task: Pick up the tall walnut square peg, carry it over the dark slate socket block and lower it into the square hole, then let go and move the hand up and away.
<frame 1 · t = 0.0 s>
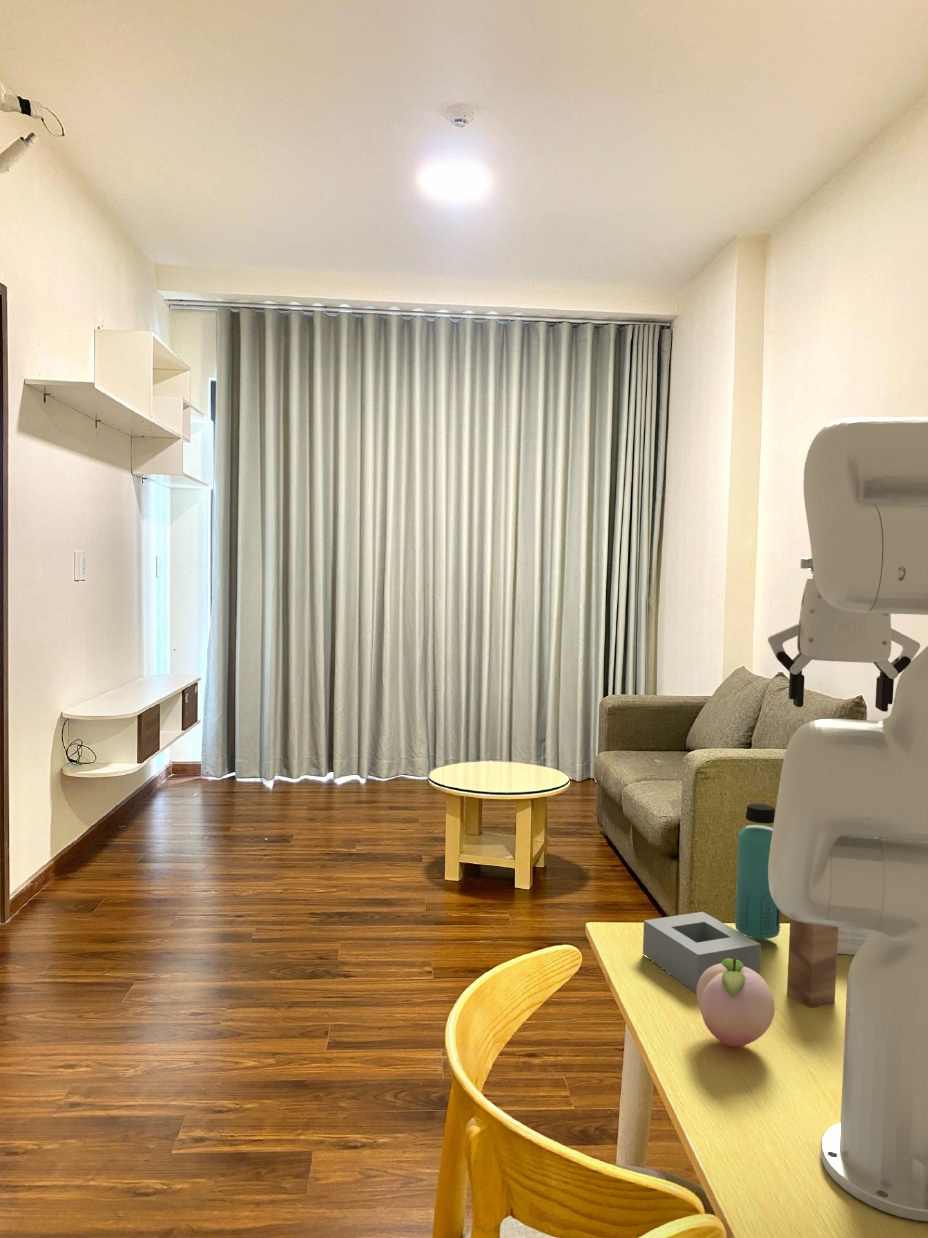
hand: (839, 707, 111), 37 cm above the table, tool pointing down, fingers open, 9 cm apart
walnut peg: (810, 998, 114), on the table
socket block: (699, 968, 122), on the table
small box: (839, 948, 130), on the table
beverage bottle: (756, 941, 132), on the table
decorative fruit: (733, 1047, 102), on the table
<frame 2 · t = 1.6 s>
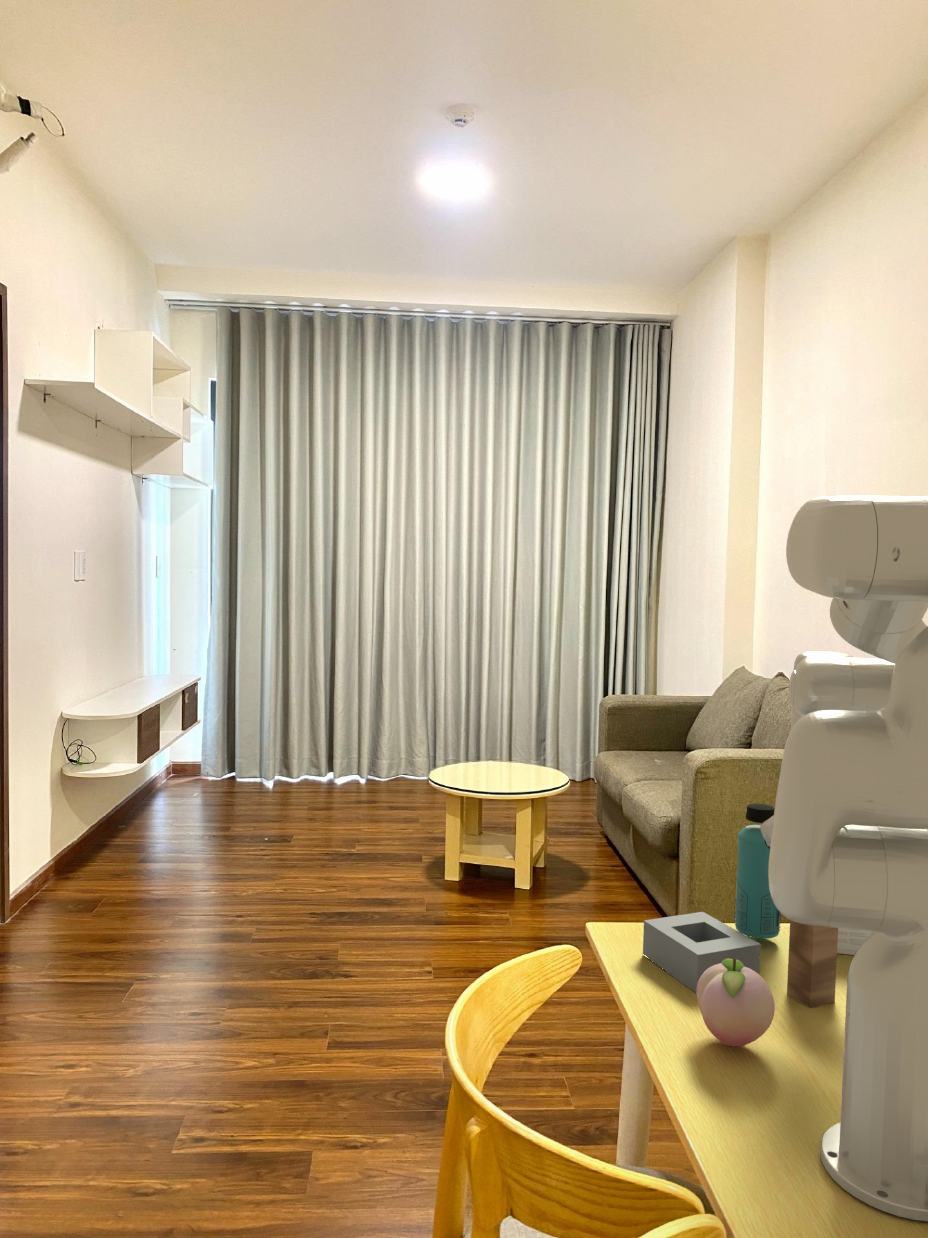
hand: (814, 884, 114), 14 cm above the table, tool pointing down, fingers open, 9 cm apart
nothing on the table moved.
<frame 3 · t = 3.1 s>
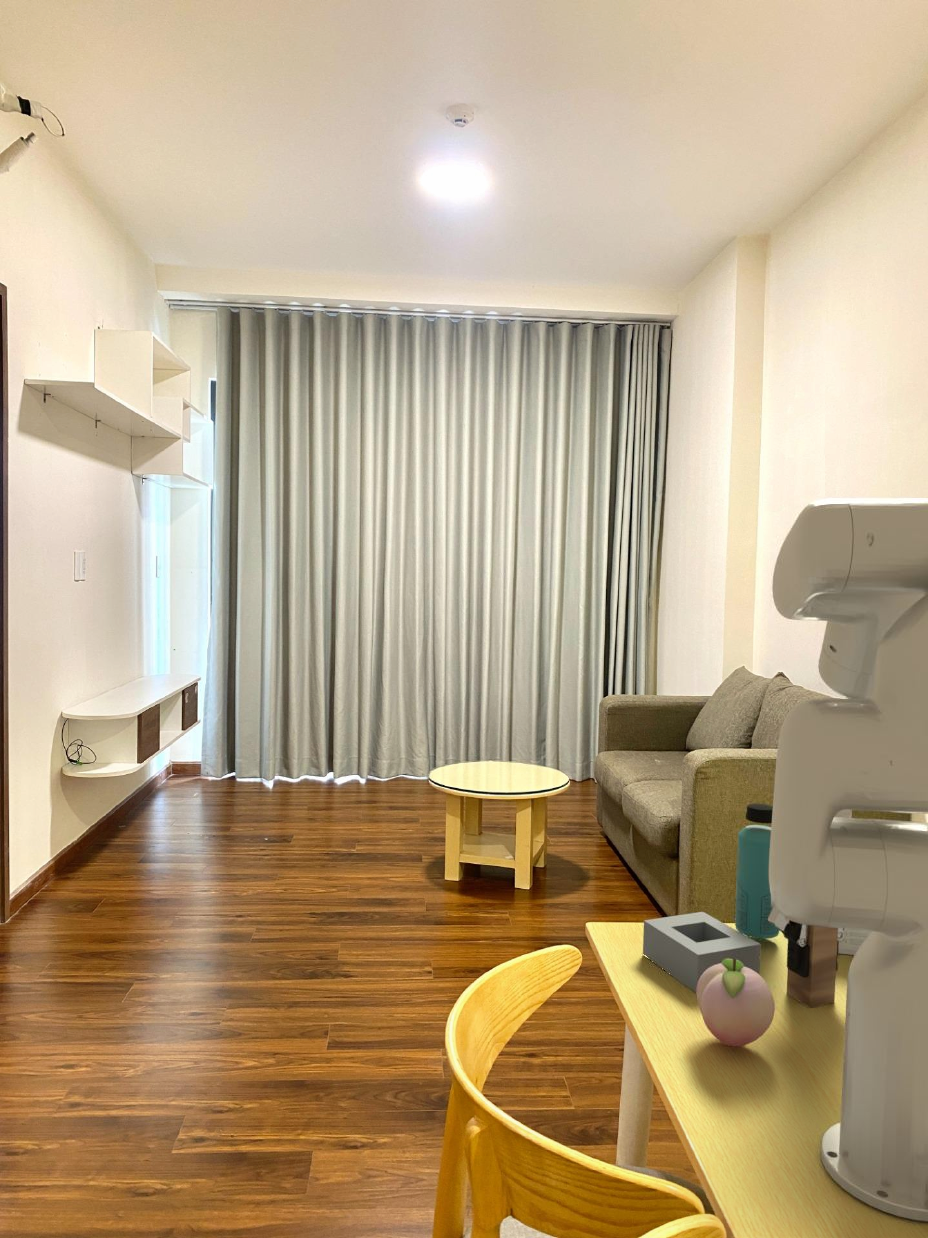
hand: (811, 968, 114), 4 cm above the table, tool pointing down, fingers closed on walnut peg, 3 cm apart
walnut peg: (810, 998, 114), on the table, touching gripper
everything else where it was.
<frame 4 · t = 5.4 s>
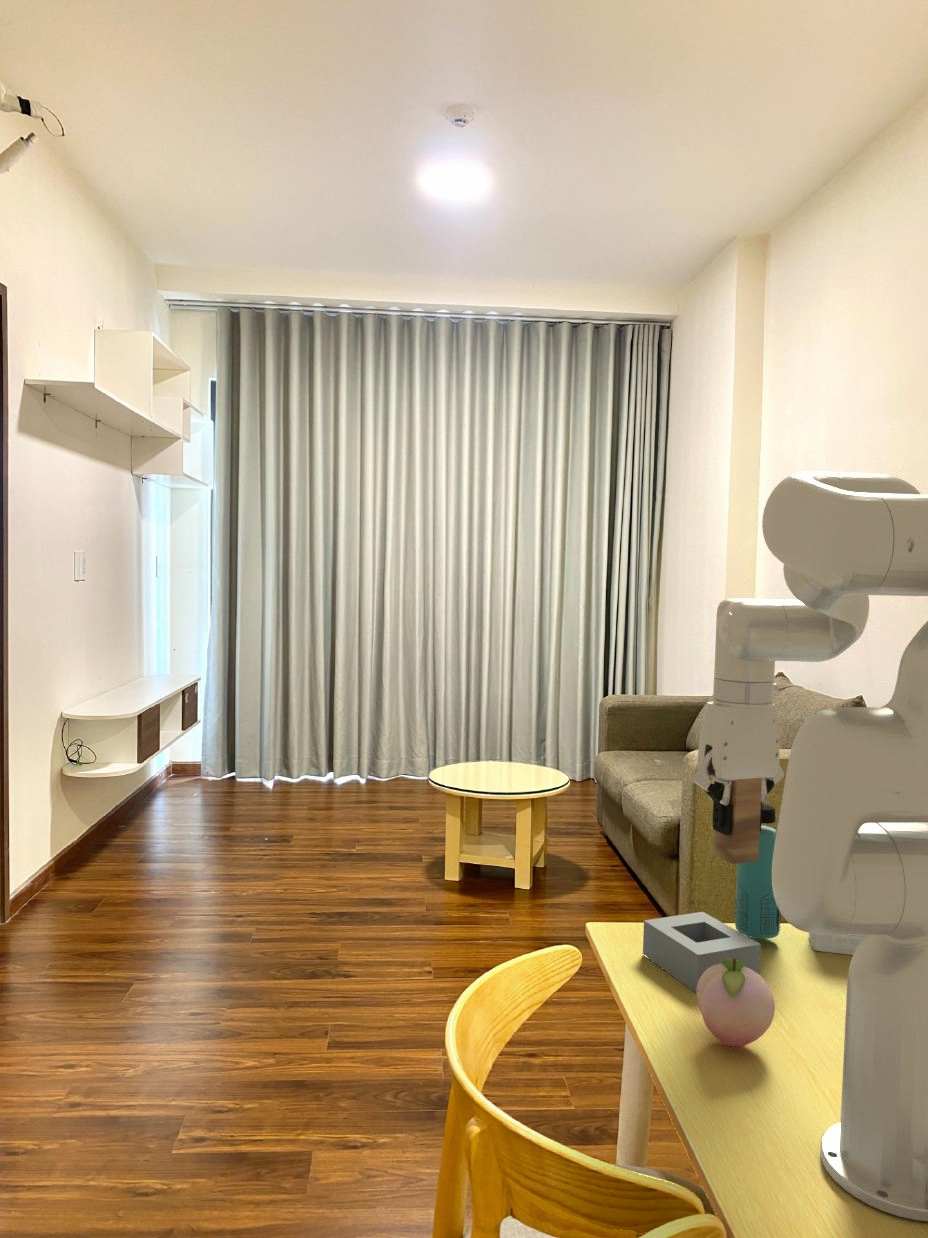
hand: (736, 829, 119), 20 cm above the table, tool pointing down, fingers closed on walnut peg, 4 cm apart
walnut peg: (735, 857, 119), point 16 cm above the table, touching gripper
everything else where it was.
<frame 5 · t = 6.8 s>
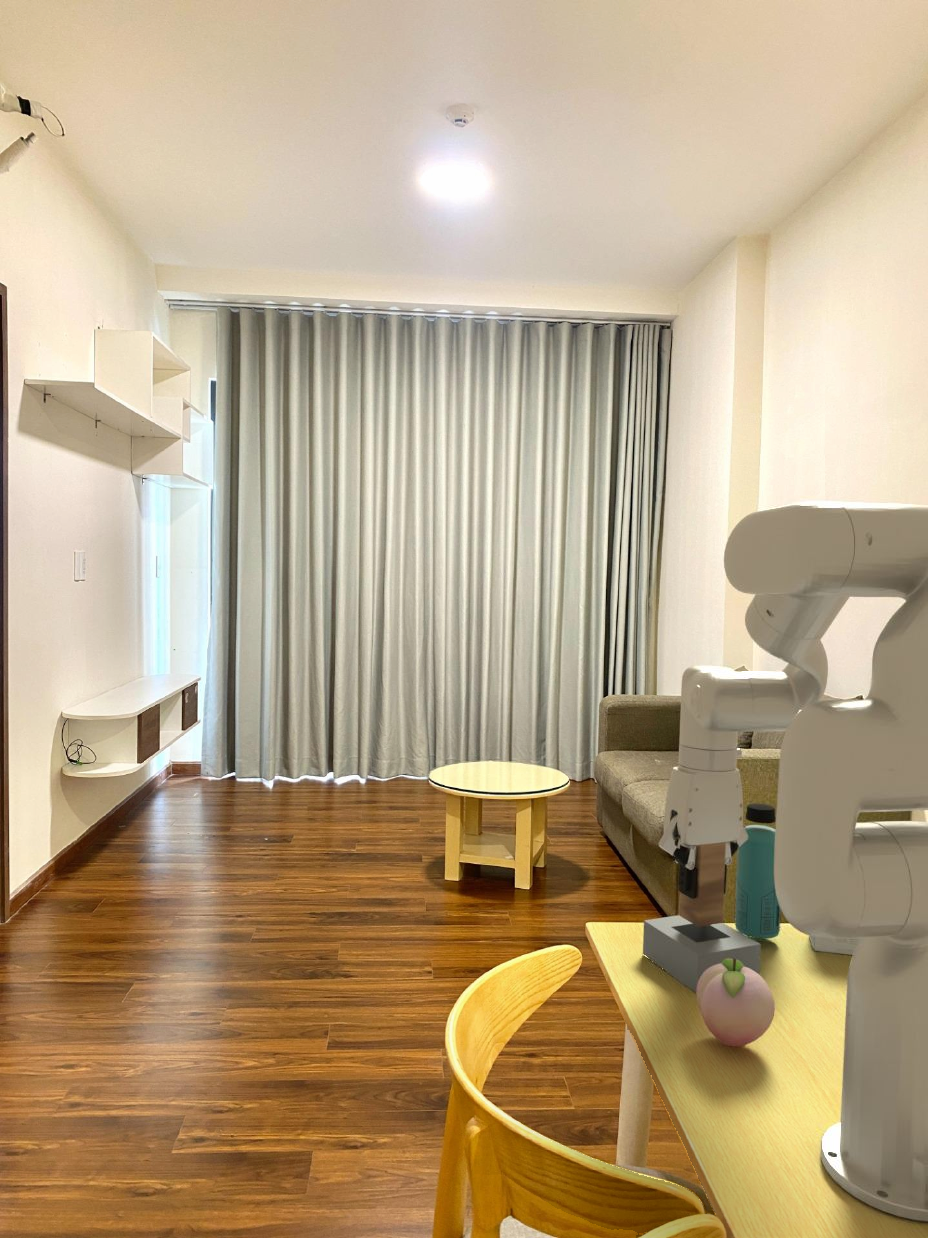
hand: (702, 891, 122), 10 cm above the table, tool pointing down, fingers closed on walnut peg, 4 cm apart
walnut peg: (700, 919, 122), point 7 cm above the table, touching gripper
everything else where it was.
when the fingers open (6 cm above the table, at t = 8.0 s): walnut peg drops 1 cm, resting on socket block.
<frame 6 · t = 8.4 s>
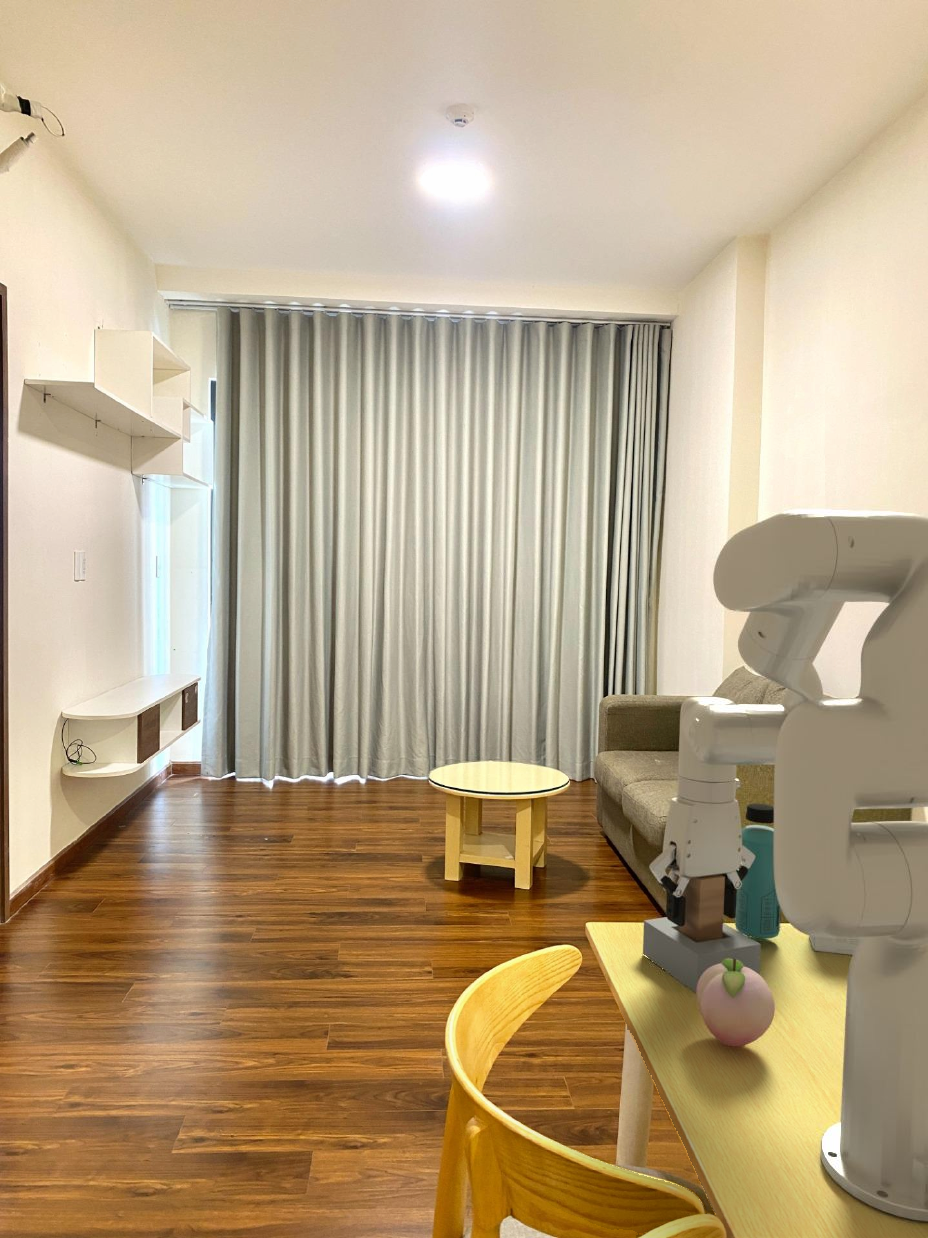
hand: (701, 918, 122), 7 cm above the table, tool pointing down, fingers open, 7 cm apart
walnut peg: (699, 961, 122), point 1 cm above the table, touching socket block
everything else where it was.
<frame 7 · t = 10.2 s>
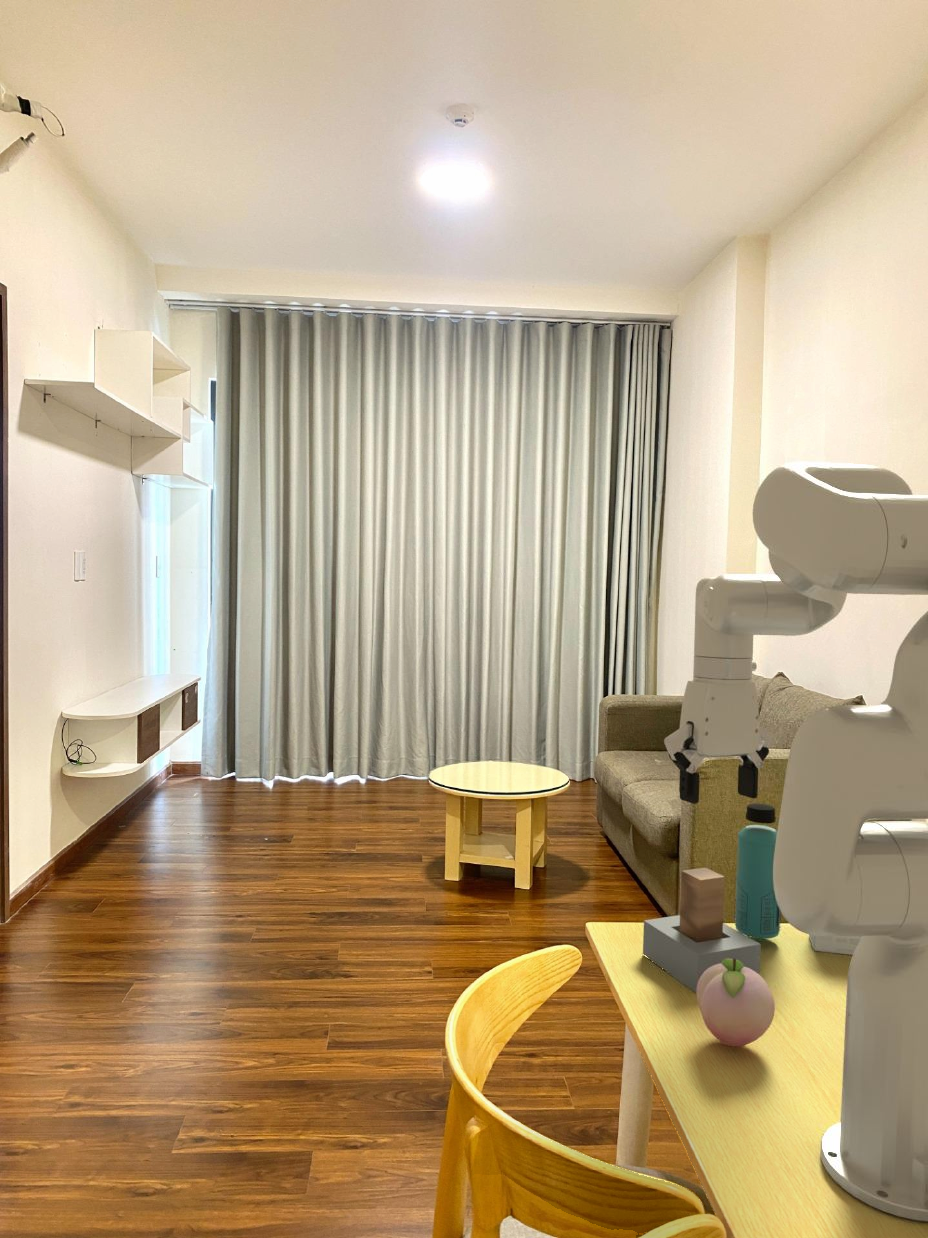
hand: (718, 798, 120), 23 cm above the table, tool pointing down, fingers open, 9 cm apart
nothing on the table moved.
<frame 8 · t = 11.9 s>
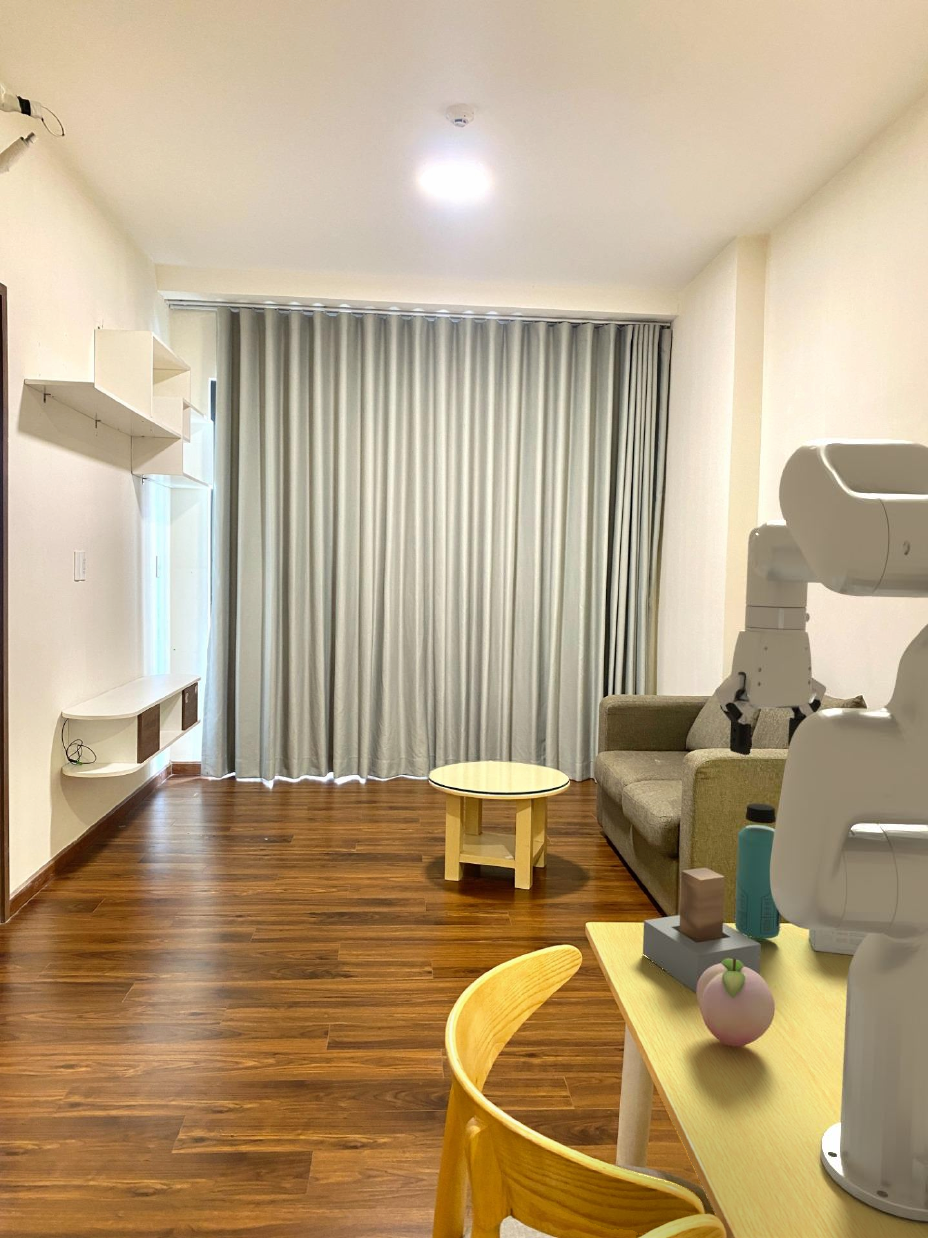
hand: (769, 751, 118), 30 cm above the table, tool pointing down, fingers open, 9 cm apart
nothing on the table moved.
at the end: walnut peg 0.0 cm off-centre on the socket block, point 1.0 cm above the socket block's base; walnut peg tilted 0°; the gripper is holding nothing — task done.
